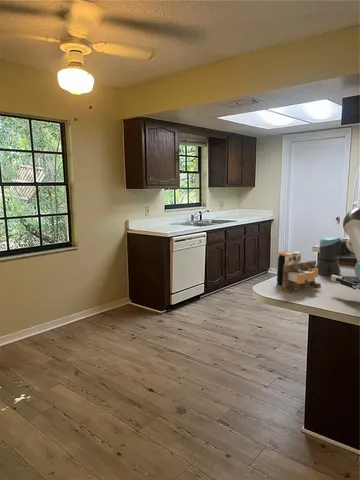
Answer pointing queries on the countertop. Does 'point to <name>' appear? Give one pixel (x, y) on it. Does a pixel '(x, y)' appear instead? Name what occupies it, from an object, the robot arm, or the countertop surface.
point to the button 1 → (296, 277)
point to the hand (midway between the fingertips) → (332, 277)
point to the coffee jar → (281, 266)
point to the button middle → (308, 275)
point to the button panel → (294, 265)
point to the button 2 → (314, 271)
